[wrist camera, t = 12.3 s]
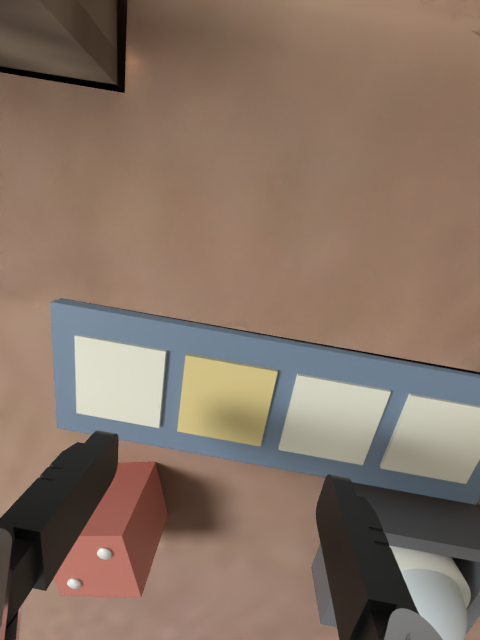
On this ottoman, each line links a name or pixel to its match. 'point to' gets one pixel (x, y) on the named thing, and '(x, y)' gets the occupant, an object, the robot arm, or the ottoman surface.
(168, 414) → the board
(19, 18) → the serving frame
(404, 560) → the dome
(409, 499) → the base
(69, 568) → the die
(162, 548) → the ottoman surface
